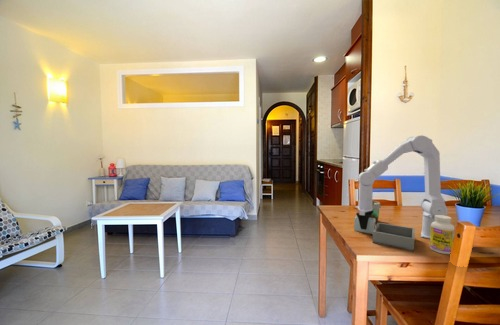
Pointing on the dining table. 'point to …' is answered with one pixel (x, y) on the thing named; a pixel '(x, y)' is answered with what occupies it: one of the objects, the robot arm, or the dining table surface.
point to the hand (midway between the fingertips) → (364, 227)
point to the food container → (375, 210)
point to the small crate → (369, 225)
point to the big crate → (394, 236)
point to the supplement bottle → (441, 234)
